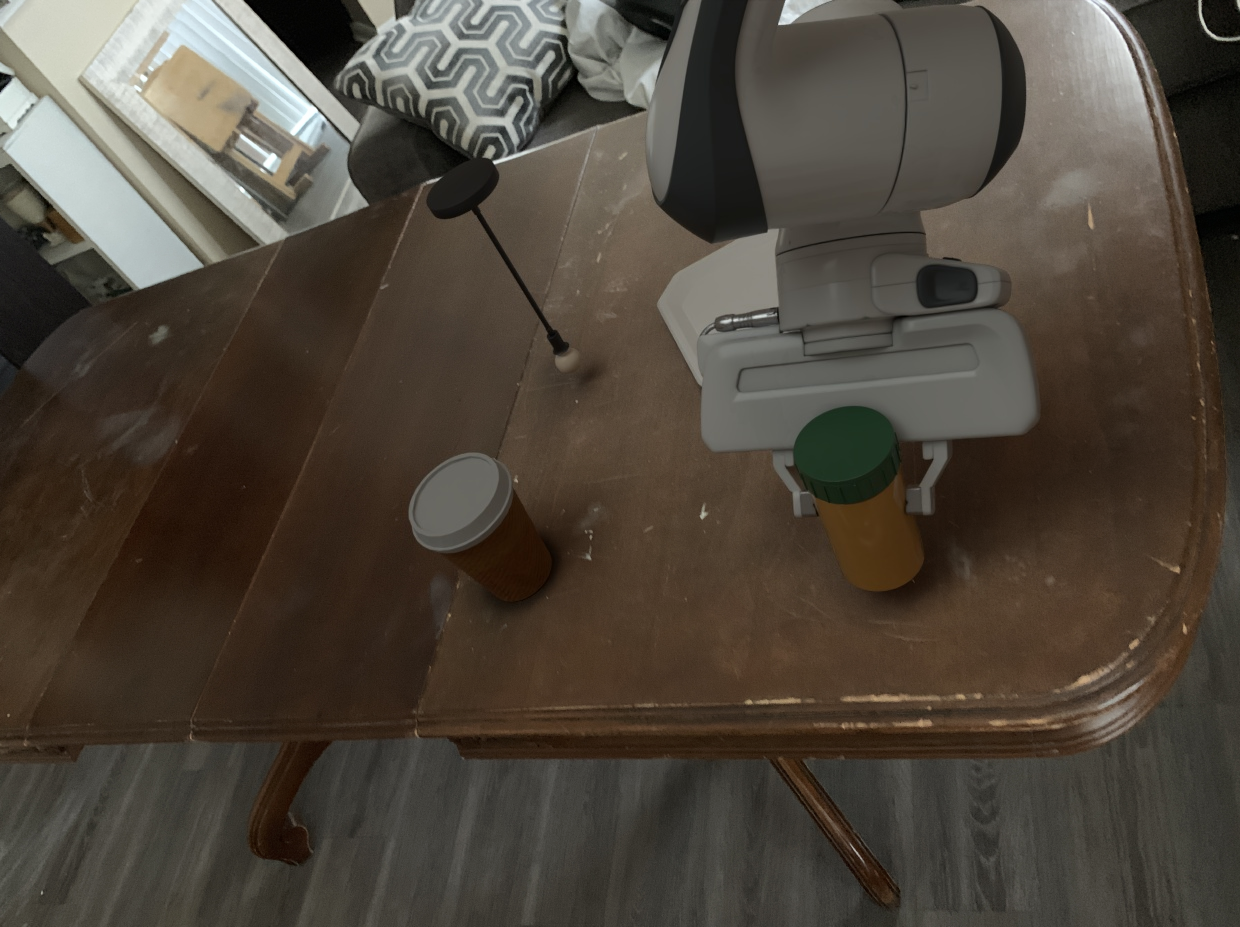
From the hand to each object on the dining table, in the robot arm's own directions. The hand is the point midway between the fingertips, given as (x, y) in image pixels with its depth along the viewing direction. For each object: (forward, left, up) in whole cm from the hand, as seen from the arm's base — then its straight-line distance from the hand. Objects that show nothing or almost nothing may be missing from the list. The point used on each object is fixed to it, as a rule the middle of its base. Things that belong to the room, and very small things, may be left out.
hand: (863, 515), depth 58 cm
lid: (0, 0, +6) cm, 6 cm away
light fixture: (+6, -40, -9) cm, 42 cm away
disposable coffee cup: (+22, -23, -9) cm, 33 cm away
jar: (0, -1, -6) cm, 6 cm away
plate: (-13, -31, -9) cm, 35 cm away
